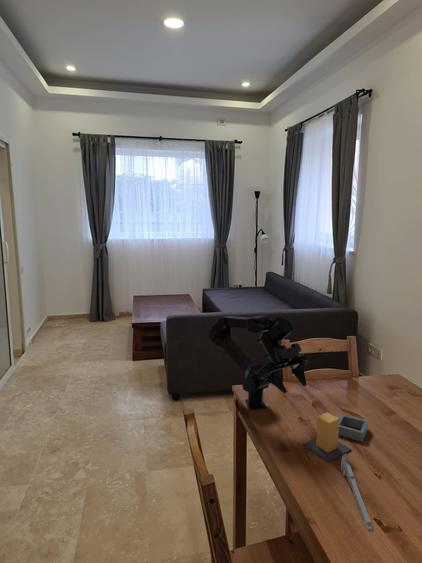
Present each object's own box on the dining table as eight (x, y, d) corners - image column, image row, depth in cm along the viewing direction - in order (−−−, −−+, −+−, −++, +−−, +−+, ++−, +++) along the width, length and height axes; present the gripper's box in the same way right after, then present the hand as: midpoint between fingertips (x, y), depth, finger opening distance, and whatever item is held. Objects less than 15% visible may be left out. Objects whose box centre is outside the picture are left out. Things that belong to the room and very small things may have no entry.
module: (316, 445, 115) (317, 416, 114) (325, 440, 118) (327, 412, 116) (327, 452, 112) (329, 423, 110) (337, 447, 114) (339, 418, 113)
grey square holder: (334, 434, 122) (335, 425, 122) (341, 422, 129) (341, 414, 129) (362, 442, 118) (363, 433, 117) (367, 429, 125) (368, 421, 124)
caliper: (340, 471, 105) (341, 450, 104) (344, 471, 105) (345, 450, 104) (367, 531, 85) (369, 506, 84) (372, 531, 85) (374, 507, 83)
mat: (302, 445, 116) (302, 443, 116) (324, 434, 122) (324, 433, 122) (329, 462, 108) (329, 460, 108) (351, 450, 114) (351, 448, 113)
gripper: (264, 341, 121) (288, 386, 113) (305, 331, 131) (329, 372, 124) (248, 357, 128) (269, 400, 121) (287, 346, 139) (309, 386, 131)
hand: (295, 389), depth 124 cm, fingers open, 9 cm apart
